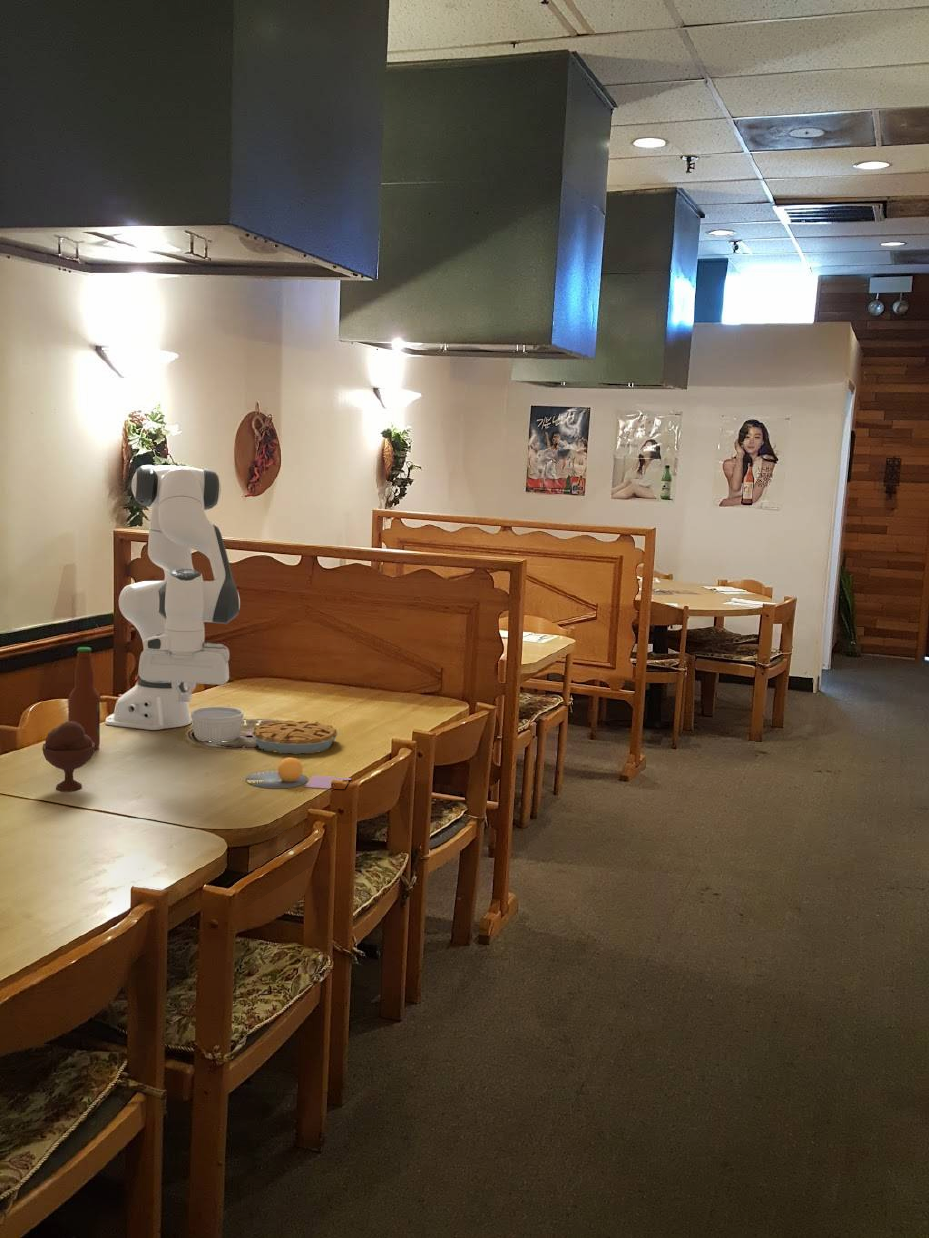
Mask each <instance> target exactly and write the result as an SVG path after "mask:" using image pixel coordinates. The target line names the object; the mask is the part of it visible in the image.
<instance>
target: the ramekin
mask: <svg viewBox="0 0 929 1238" xmlns="http://www.w3.org/2000/svg"><path fill="white" fill-rule="evenodd" d="M190 717H191V720H192V729H193V734H194V737H195V738H196V740H198V739H199V740H198V741H200V740H201V741H200V742H204V741H211V742H210V743H212V742H220V743H223V742H222V741H229V742H233V741H235V739H236V740H237V739H238V737H239V736H240V734H241V729H242V722H243V718H244V711H243V710H241V709H239V708H236V707H229V706H206V707H204V706H203V707H200V708H196V709H194V710H192V711H191V714H190Z"/></svg>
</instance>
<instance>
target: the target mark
mask: <svg viewBox="0 0 929 1238" xmlns="http://www.w3.org/2000/svg"><path fill="white" fill-rule="evenodd" d="M264 771H265V772H264V774H263V773H262V771H260V772H261V773H260V774H259V775H258V773H257V772H253V773H251V774H249V775H247V776H246V778H245V781H246V780H264V781H262V782H259V781H258V783H257V782H255V783H252V782H251V783H250V784H252V785H251V786H254V787H256V786H257V788H261V789H270V790H271V789H272V790H275V789H276V790H283V789H292V788H296V787H300V786H303V785H305V784H307V783H308V782H309V780H308V778H309V777H307V776H306V775H304V773H302V774H301V776H300V778H299V779H298V780H296V781H294V782H285V781H283V780H282V779H281V778H280V777H279V775H278V772H276V771H278V769H277V770H273V771H274V772H273V773H272V772H271V771H272V770H268V771H269V772H268V773H267V772H266V771H267V770H264ZM254 773H256V774H255V775H254ZM265 780H266V781H265ZM271 780H272V781H271ZM278 780H281V781H278ZM250 784H249V785H250Z"/></svg>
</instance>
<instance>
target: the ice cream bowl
mask: <svg viewBox="0 0 929 1238" xmlns="http://www.w3.org/2000/svg"><path fill="white" fill-rule="evenodd" d="M94 747H95V743H94V742H93V741H92V739H91V737H89V736H88V735H86V734H84V728H83V727H82V726H81V725H80V724H79V723H77V722H74V721H65V722H63V723H60V725H59V726H58V727H57V726H56V727H55V728H53V729H51V731H49V732H48V733H47V737H46V738H45V742H44V743H43V745H42V747H41V749H42V753H43V757H44V758H45V760H46V761H47V762H48V763H49V764H50V765H52V766H53V767H55V768H56V769H60V770H63V772H64V780H62V781H61V782H59V783H58V784H56V786H55V790H56V791H60V792H75V791H78V790H81V789H82V788H83V785H82V783H81V782H79V781H77V780H75V779H74V771H75V770H76V769H79V768H81V767H83V766H84V765H86V764H87V763H88V762H89V761H90V760H91V759H92V757H93V755H94V752H95V749H94Z"/></svg>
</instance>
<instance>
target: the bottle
mask: <svg viewBox="0 0 929 1238" xmlns="http://www.w3.org/2000/svg"><path fill="white" fill-rule="evenodd" d="M76 651H77V655H76V657H77V660H76V661H77V662H76V666H75V672H74V687H73V689H71V691H70V693H69V696H68V700H67V701H68V704H67V705H68V706H67V708H68V709H67V713H68V715H67V716H68V718H67V719H68V721H74V722H77V723H79V724H80V725H81V726H82V727H83V728H84V734H86V735H88V736H89V737H91V739H92V741H93V742H94V743H95V747H94V750H96V749H98V748H99V747H100V742H101V741H100V740H101V738H100V737H101V735H100V734H101V729H100V727H101V726H100V724H101V723H100V722H101V709H100V708H101V697H100V694H99V691H98V690H97V689H96V688H95V686H94V678H95V677H94V669H93V665H92V664H93V663H92V660H91V658H92V654H91V652H92V648H91V647H88V646H79V647H77V649H76Z"/></svg>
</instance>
